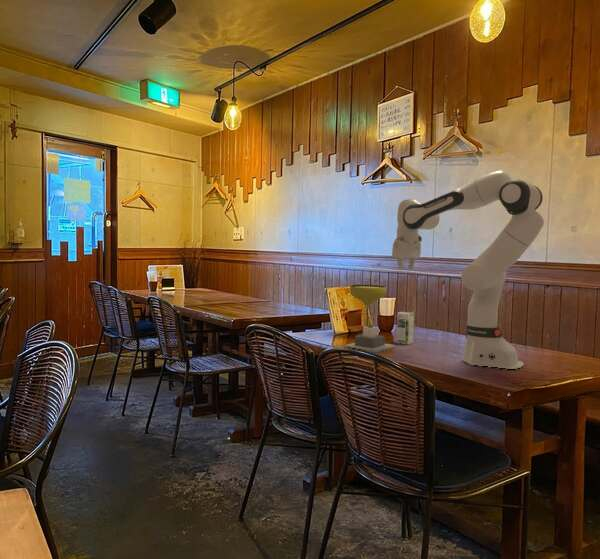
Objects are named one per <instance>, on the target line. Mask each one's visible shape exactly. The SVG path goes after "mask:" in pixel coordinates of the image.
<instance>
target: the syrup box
mask: <svg viewBox="0 0 600 559" xmlns="http://www.w3.org/2000/svg"><path fill="white" fill-rule="evenodd" d="M396 320H397V323H396V324H397V326H396V344H400V343H401V344H402V345H405V346H406V345H407V344H408V345H411V344H413V343H414V326H415V322H414V321H415V312H407V311H400V312H399V311H398V312H397V319H396Z"/></svg>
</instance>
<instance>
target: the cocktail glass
mask: <svg viewBox="0 0 600 559" xmlns="http://www.w3.org/2000/svg"><path fill="white" fill-rule="evenodd" d="M349 286H350V287H349V293H350V295H351V296H353V297H354V298H355V299H357V300H359V301H360V302H362V304H364V306H365V307H366V322H365V323H366V326H368V325H369V307H371V305H372V304H373V303H374V302H376V301H378V300H379V299H382V298H383V297H384V296H386V294H387V286H383V285H375V284H368V285H367V284H356V285H355V284H353V285H349ZM366 326H365V327H366ZM362 334H363V332H361V333H356V335H355V336H358V335H362Z"/></svg>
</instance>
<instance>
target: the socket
mask: <svg viewBox="0 0 600 559" xmlns="http://www.w3.org/2000/svg"><path fill="white" fill-rule="evenodd" d="M361 334H362V333H361ZM385 339H386V338H385V335H379V334H377V337H375V338H369V337H363V334H362V335H358V336H356V335H355V336H354V342H352V343H349V344H344V348H345V347H351V348H356V349H355V350H357V349H362V350H361V351H363V350H366V351H365V352H369V353H375V352H377V353H380V352H383V351H382V350H384V351H386V349H387V350H390V349H393V348H395V345H396V344H395V345H394V344H391V343H385V341H386V340H385ZM351 348H350V349H351ZM389 348H390V349H389ZM371 351H373V352H371ZM379 351H380V352H379Z"/></svg>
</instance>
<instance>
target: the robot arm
mask: <svg viewBox="0 0 600 559" xmlns="http://www.w3.org/2000/svg"><path fill="white" fill-rule="evenodd" d="M543 198H544V197H543V192H542V191H541V189H540V188H539V187H538V186H536V185H534V184H532V183H531V182H529V181H527V180H526V181H525V180H522V179H512V178H511V176H510V174H509V173H508V172H506V171H504V170H501V169H500V170H496V171H493V172H489V173H485V174H484V175H481V176H478V177H477V178H474V179H472V180H471V181H469V182H467V183H465V184H463V185H461V186H460V187H458V188H456V189H454V190H451V191H450V192H448V193H445V194H443V195H440V196H438V197H436V198H434V199H431V200H428V201H426V202H424V203H421V202H419V201H418V200H417V199H414V198H409V199H405V200H402V201H401V202H400V203H399V204H398V208H397V214H396V215H397V228H396V238H395V239H394V241H393V244H392V250H391V251H392V252H391V257H392V259H396V262H397V267H398V270H403V269H404V268H405V267H404V264H403V261H404V259H408V260H409V264H408V269H410V270H412V269H414V264H415V262H416V259H420V256H421V250H422V244H421V243H422V241H423V238H422V236H421V235H420V234H419V233H418V232H419V231H418V230H432V229H434V228H436V227H437V226H438V224H439V223H440V220H441V218H440V214H444V213H445V212H449V211H453V210H454V211H455V210H469V211H470V210H475V209H480V208H483V207H485V206H488V205H490V204H492V203H494V202H496V201H500V203H501V205H502V206H503V207H504V208H505V210H506V211H507V213H508V214H509V215H511V219H510V221H509V222H508V223H507V224H506V226H505V227H504V228H503V229H502V230H501V231H500V233H498V236H497V237H496V238H495V239H494V240H493V241H492V243H491V244H489V246H488V247H486V249H485V250H484V251H482V252H481V253H480V254H479V255H478V256H477V257H476V258H475V259H474V260H473V261H472V262H471V263H470V264H469V265H467V266H466V267H465V268H463V270H462V272H461V275H460V279H461V283H462V284H463V286H464V288H466V289H469V290H470V291H473V292H472V295H471V299H470V301H469V303H468V306H467V324H466V328H465V340H466V341H465V346H464V350H463V355H462V357H461V360H462V361H463V362H465V363H467V364H468V365H470V366H474V365H478V366H477V367H482V366H488V367H487V368H491V367H498V368H497V369H499V368H506V369H505V370H507V369H516V370H518V369H517V368H520V369H522V368H523V367H524V366H525V365H524V362H523V361H521V360H519V358H518V352H517V349H516V347H514V346H513V345H512V344H511V343H510V342H509V341H507V340H506V339H505V338H504V337H503V332H504V329H503V328H502V329H501V328H500V327H499V326H498V322H499V321H498V318H499V305H500V300H501V296H502V291H503V288H504V284H505V282H506V280H507V273H506V271H507V270H508V269H509V268H511V267H512V266H513V265H515V264H516V263H517V261H518V260H519V259H520V258H521V257H522V255H523V254H524V253H525V252H526V251H527V250H528V248H529V247H530V246H531V245H532V243H533V242H534V241H535V239H537V237H538V235H539V233H540V232H541V230H542V228H543V227H544V222H545V221H544V218H543V217H542V215H541V214H540V213H539V212H538V211H536V210H537V209H539V208H540V206H541V205H542V202H543ZM523 365H524V366H523ZM522 366H523V367H522ZM521 367H522V368H521Z"/></svg>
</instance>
